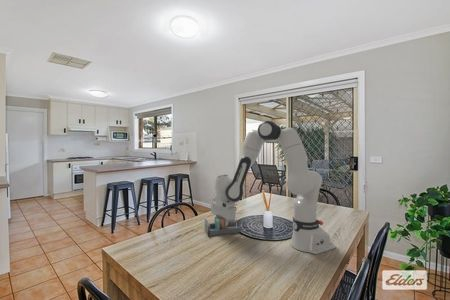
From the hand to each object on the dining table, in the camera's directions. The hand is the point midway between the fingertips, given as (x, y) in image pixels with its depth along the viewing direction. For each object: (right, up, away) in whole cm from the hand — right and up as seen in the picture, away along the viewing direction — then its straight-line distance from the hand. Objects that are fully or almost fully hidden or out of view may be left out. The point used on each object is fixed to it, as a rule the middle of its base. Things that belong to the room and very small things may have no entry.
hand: (222, 223), depth 134 cm
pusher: (-3, -4, -1) cm, 5 cm away
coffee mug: (+3, -4, +19) cm, 19 cm away
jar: (0, -4, 0) cm, 4 cm away
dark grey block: (0, -4, 0) cm, 4 cm away
